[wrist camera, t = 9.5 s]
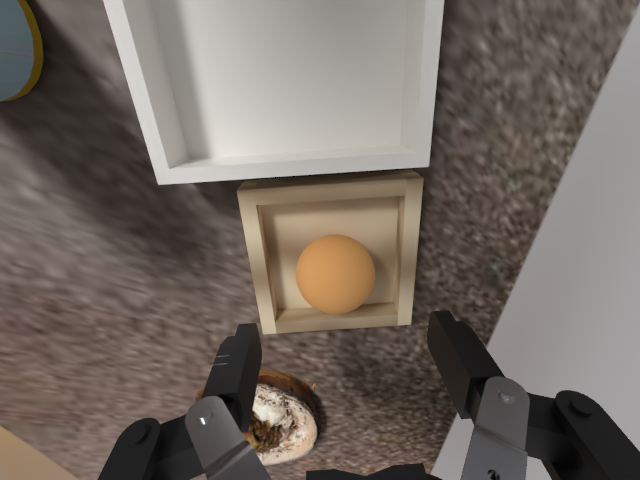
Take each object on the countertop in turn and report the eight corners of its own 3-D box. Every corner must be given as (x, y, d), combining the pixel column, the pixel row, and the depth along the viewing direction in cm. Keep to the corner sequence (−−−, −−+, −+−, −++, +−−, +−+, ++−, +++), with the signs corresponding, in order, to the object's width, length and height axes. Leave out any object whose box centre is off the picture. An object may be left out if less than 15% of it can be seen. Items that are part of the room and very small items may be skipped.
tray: (244, 180, 20) (236, 190, 18) (411, 169, 20) (423, 177, 18) (267, 314, 24) (263, 334, 22) (402, 305, 24) (410, 324, 22)
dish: (97, -164, 13) (29, -247, 10) (431, -188, 13) (469, -281, 10) (183, 170, 19) (158, 184, 16) (409, 155, 19) (428, 166, 16)
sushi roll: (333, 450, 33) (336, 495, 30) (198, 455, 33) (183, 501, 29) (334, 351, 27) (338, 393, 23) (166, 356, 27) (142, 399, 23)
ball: (294, 224, 20) (289, 261, 16) (368, 219, 20) (384, 255, 16) (300, 286, 22) (297, 334, 18) (367, 282, 22) (381, 329, 18)
